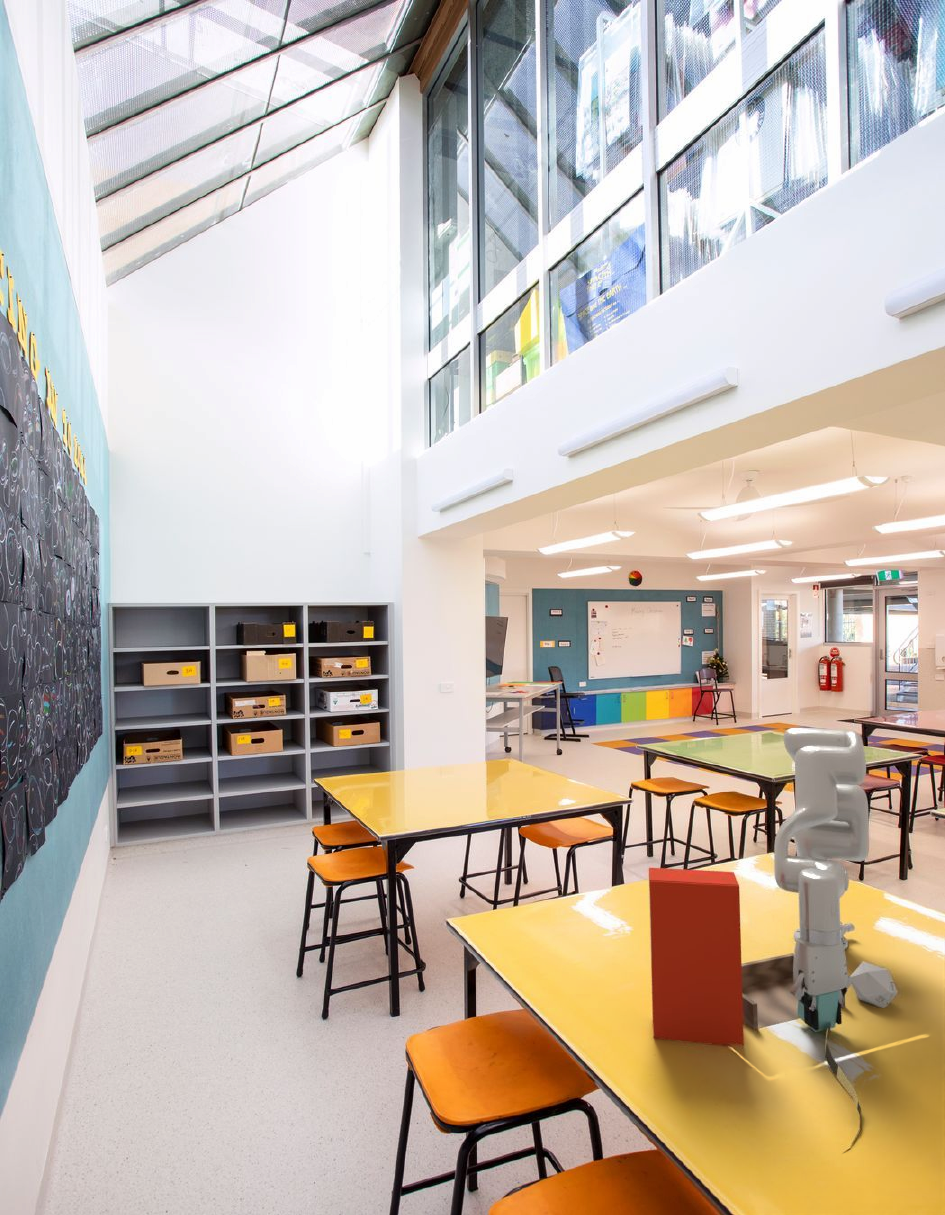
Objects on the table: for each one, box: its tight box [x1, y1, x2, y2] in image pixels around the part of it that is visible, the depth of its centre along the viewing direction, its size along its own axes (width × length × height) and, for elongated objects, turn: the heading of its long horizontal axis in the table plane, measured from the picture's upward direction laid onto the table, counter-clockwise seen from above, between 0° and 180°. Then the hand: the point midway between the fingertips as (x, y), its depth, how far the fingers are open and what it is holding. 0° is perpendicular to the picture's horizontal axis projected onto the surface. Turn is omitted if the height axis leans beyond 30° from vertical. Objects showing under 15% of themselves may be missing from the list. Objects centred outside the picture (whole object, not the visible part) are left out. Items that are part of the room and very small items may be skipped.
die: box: [849, 960, 899, 1009], centre depth 155 cm, size 8×9×10 cm
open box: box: [741, 952, 846, 1030], centre depth 155 cm, size 24×15×6 cm, turn 108°
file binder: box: [648, 867, 745, 1047], centre depth 145 cm, size 8×17×32 cm, turn 77°
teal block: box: [797, 990, 839, 1033], centre depth 144 cm, size 5×5×8 cm
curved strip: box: [824, 1023, 862, 1152], centre depth 124 cm, size 6×39×4 cm, turn 152°
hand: (822, 1022), depth 143 cm, fingers closed on teal block, 5 cm apart
